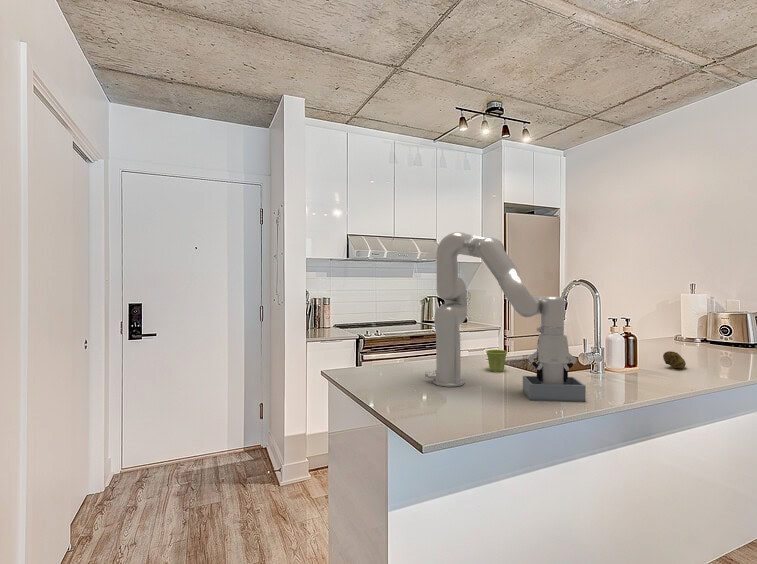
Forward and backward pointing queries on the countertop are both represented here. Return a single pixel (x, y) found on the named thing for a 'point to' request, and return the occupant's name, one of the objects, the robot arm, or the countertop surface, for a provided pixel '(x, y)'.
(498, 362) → the plant pot
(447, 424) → the countertop surface
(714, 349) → the countertop surface
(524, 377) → the tote
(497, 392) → the countertop surface
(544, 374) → the can
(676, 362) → the avocado
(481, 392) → the countertop surface
